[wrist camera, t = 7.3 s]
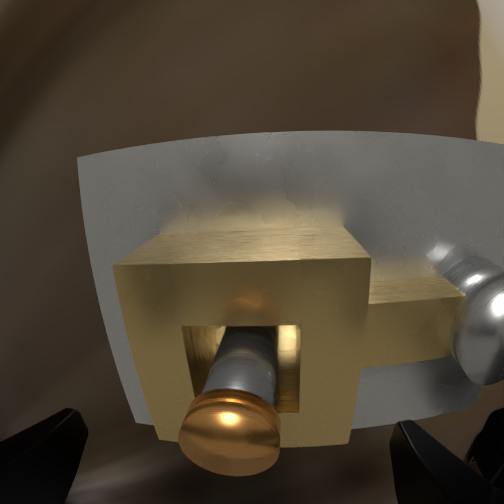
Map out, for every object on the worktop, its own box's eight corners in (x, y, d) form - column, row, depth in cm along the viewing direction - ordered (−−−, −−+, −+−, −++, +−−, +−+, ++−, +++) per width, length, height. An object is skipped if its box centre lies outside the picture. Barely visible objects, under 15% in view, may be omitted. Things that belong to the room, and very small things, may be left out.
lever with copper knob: (283, 288, 14) (278, 415, 7) (284, 339, 15) (279, 477, 7) (225, 289, 15) (169, 409, 7) (230, 339, 15) (187, 471, 8)
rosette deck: (504, 147, 13) (580, 151, 7) (465, 393, 17) (500, 451, 11) (92, 156, 15) (13, 162, 9) (143, 408, 19) (110, 472, 13)
